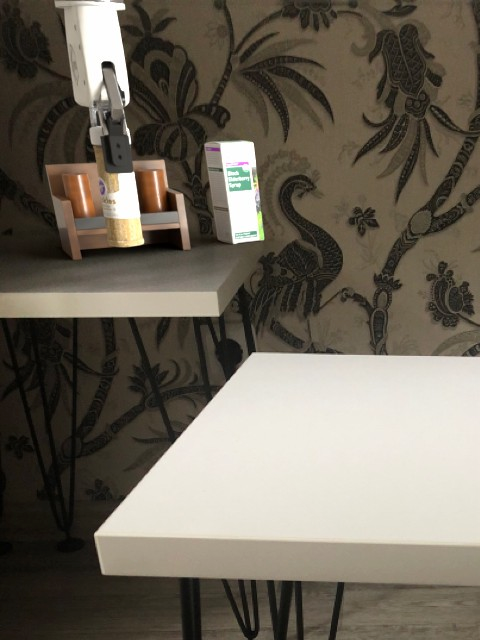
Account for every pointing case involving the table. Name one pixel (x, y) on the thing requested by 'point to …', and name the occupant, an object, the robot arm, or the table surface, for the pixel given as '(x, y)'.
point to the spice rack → (87, 211)
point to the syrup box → (234, 191)
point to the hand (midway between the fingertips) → (115, 169)
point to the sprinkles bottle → (118, 200)
